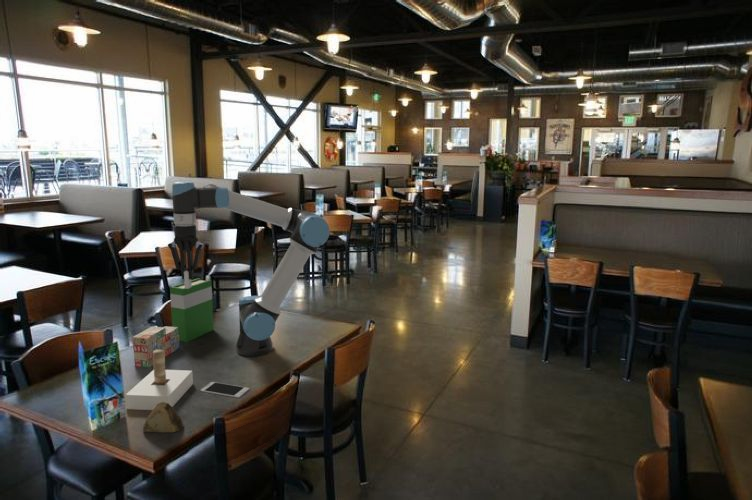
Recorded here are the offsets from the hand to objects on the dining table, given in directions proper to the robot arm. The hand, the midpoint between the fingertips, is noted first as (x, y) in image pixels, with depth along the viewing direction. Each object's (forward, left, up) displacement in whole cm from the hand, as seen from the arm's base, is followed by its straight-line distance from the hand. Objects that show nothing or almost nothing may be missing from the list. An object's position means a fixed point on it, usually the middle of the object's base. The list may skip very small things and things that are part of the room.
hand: (188, 287), depth 195 cm
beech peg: (+2, +22, -32) cm, 39 cm away
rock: (-8, +43, -33) cm, 55 cm away
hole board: (+2, +22, -32) cm, 39 cm away
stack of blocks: (+18, -11, -33) cm, 39 cm away
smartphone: (-18, +16, -33) cm, 41 cm away
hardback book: (+14, -37, -33) cm, 51 cm away
